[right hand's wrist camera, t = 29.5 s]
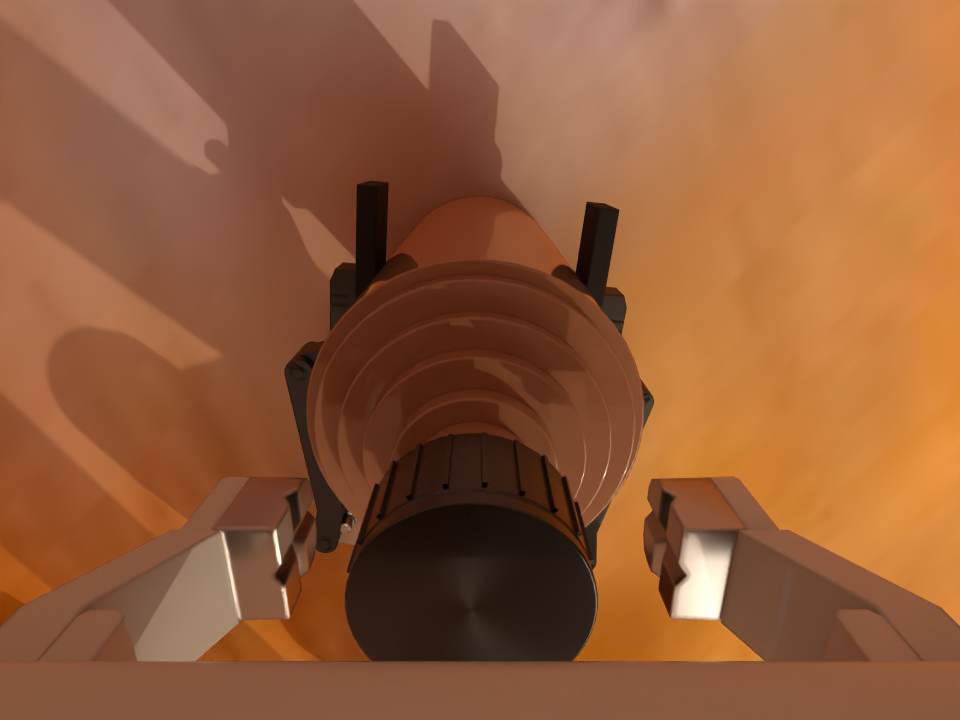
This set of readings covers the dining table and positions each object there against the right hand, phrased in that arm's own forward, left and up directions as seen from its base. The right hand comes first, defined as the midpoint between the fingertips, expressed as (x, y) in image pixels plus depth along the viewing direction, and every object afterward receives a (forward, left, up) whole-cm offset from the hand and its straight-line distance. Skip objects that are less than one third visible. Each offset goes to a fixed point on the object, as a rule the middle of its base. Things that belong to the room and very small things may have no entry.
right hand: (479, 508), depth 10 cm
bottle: (0, 0, -20) cm, 20 cm away
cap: (0, 0, +2) cm, 2 cm away
